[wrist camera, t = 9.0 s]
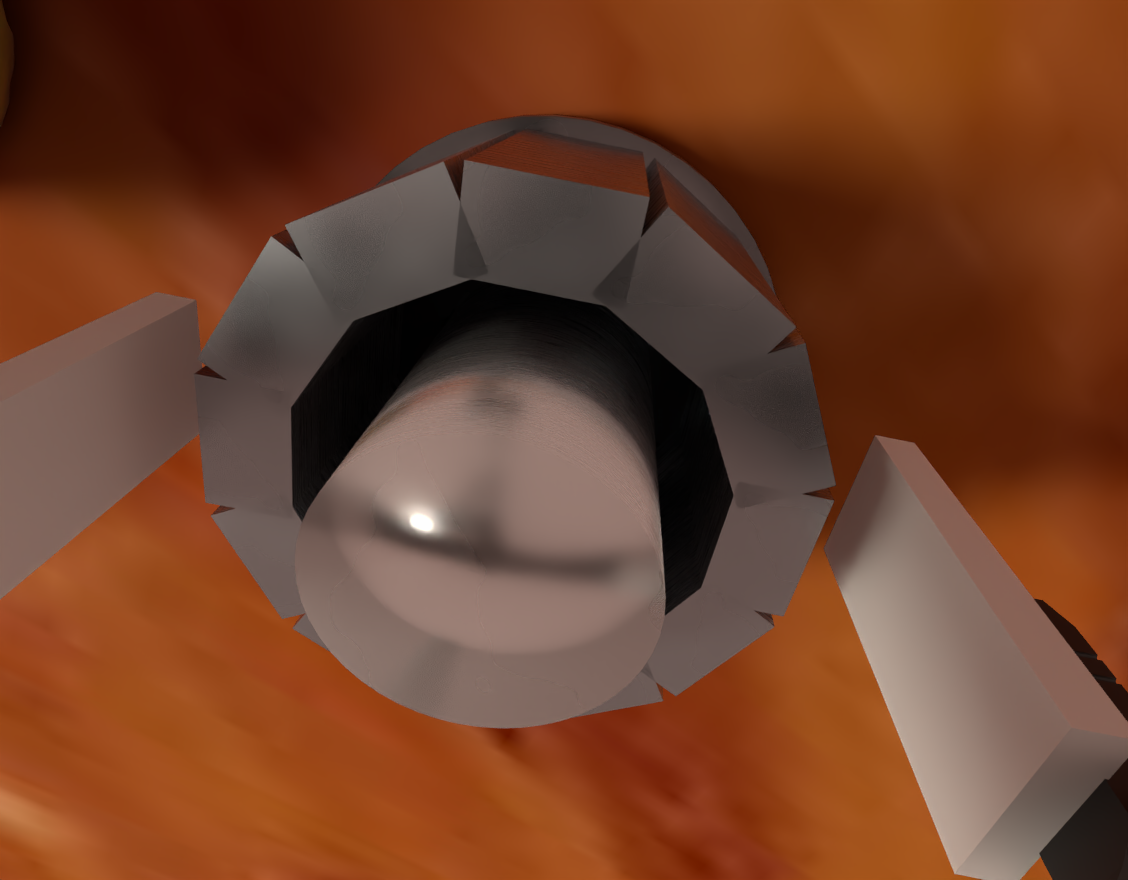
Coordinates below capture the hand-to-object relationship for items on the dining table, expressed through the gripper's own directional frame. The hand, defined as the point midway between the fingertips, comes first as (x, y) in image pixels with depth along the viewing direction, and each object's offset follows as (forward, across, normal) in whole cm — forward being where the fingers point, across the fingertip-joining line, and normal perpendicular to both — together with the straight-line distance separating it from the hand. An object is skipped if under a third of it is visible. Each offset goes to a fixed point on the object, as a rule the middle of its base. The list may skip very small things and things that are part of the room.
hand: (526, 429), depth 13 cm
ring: (+3, 0, 0) cm, 3 cm away
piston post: (+4, 0, 0) cm, 4 cm away
